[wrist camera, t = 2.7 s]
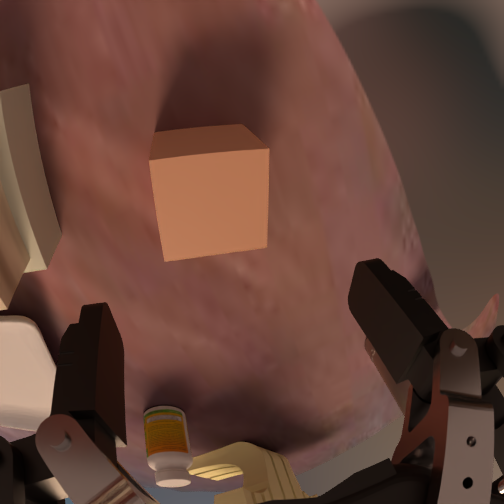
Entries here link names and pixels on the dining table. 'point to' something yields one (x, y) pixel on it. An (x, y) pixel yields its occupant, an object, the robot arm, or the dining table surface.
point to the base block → (26, 178)
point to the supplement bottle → (168, 445)
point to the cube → (210, 190)
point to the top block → (10, 253)
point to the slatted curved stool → (249, 474)
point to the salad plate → (24, 374)
